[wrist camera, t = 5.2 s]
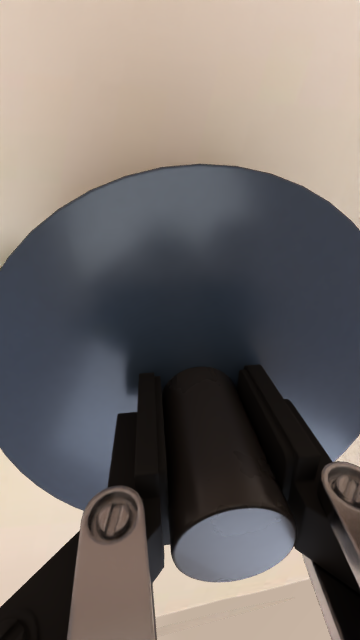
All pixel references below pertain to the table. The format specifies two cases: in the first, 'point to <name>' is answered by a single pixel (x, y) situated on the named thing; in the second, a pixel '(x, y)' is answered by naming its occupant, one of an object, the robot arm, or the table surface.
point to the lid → (183, 345)
